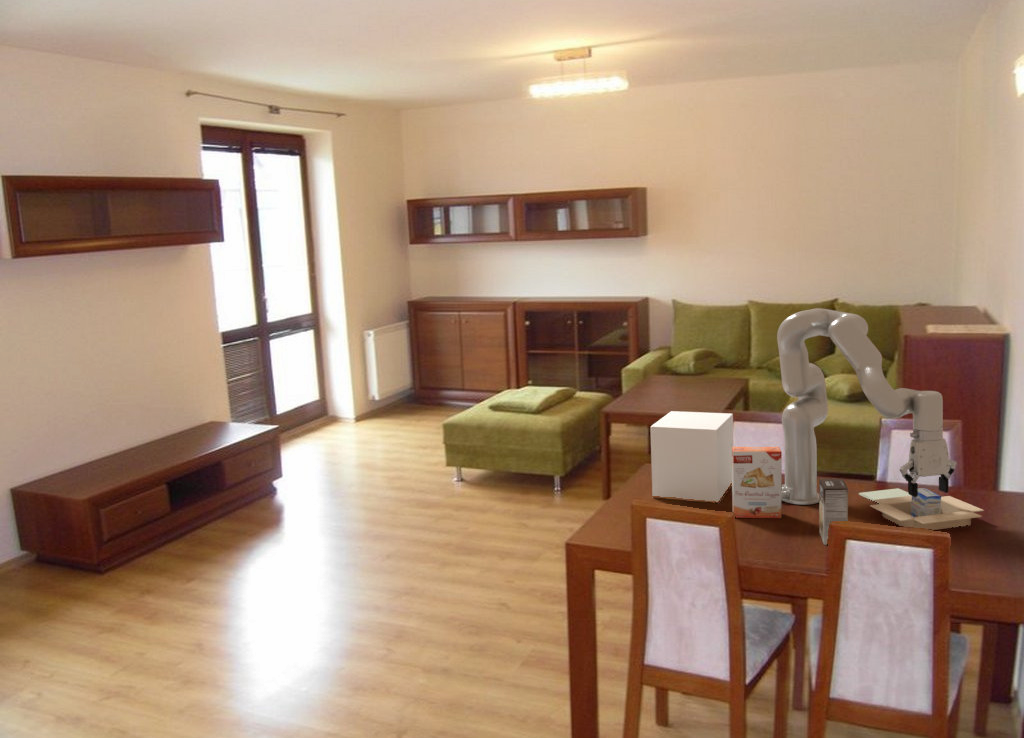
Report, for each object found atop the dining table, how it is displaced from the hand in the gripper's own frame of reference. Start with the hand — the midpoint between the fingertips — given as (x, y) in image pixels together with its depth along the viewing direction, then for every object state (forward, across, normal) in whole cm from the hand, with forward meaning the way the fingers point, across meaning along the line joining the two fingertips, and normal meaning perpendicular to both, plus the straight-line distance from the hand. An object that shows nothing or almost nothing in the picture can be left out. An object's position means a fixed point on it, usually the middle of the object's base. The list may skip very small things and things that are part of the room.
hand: (928, 493), depth 239 cm
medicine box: (+8, 0, +1) cm, 9 cm away
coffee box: (+8, -32, -4) cm, 34 cm away
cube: (+7, -50, +52) cm, 72 cm away
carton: (+8, 0, +1) cm, 8 cm away
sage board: (+8, +4, +22) cm, 23 cm away
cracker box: (+7, -42, +21) cm, 48 cm away
